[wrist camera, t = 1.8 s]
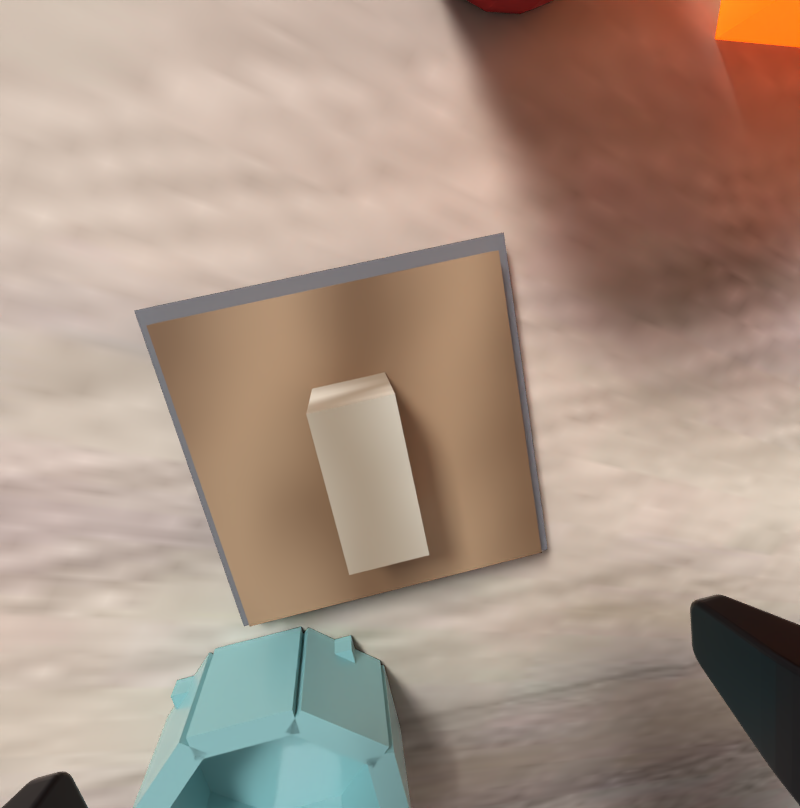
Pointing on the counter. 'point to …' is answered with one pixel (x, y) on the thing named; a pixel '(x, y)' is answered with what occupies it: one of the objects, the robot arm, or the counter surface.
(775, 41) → the orange juice
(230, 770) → the bowl
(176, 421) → the mat
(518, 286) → the counter surface
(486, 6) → the plastic cup
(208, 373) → the lid
